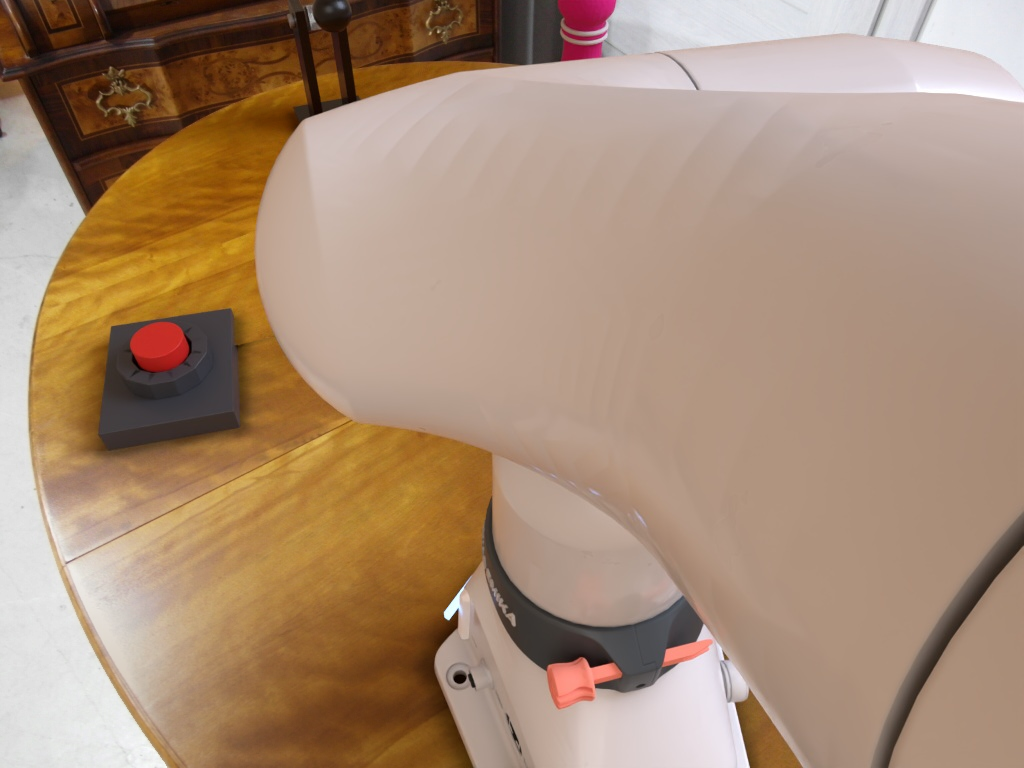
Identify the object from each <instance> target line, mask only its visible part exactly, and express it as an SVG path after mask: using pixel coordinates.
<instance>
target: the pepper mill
mask: <svg viewBox="0 0 1024 768" xmlns="http://www.w3.org/2000/svg"><path fill="white" fill-rule="evenodd" d="M616 5H617V0H557V8H558V10H559V11H558V12H560V14H561V15H562V19H561V21H560V26H561V27H560V30H559V34H560V36H561V38H562V39H563V48H562V49H563V50H562V56H561V59H560V62H562V61H572V60H582V59H592V58H602V50H603V49H602V48H603V43H604V41H605V40H606V39H607V38H608V36H609V35H608V33H609V32H608V29H609V22H608V19H609V18H610V17H611V16H612V15H613V13H614V11H615V9H616Z"/></svg>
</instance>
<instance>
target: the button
mask: <svg viewBox="0 0 1024 768" xmlns="http://www.w3.org/2000/svg"><path fill="white" fill-rule="evenodd" d="M130 348H131V351H132V353H133V355H134V356H135V358H136V360H137V362H138V364H139V366H140V367H141V368H143V369H144V370H146V371H149V372H164V371H169V370H171V369H173V368H175V367H177V366H179V365H180V364H182V363H183V362H184V361H185V359H186V358H187V356H188V354H189V345H188V343H187V341H186V338H185V336H184V334H183V331H182V329H181V328H180V327H179V326H177V325H176V324H173V323H170V322H157V323H153V324H150V325H147V326H145V327H143V328H141V329H140V330H139V331H137V332H136V333H135V334H134V336H133V337H132V339H131V342H130Z"/></svg>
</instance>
